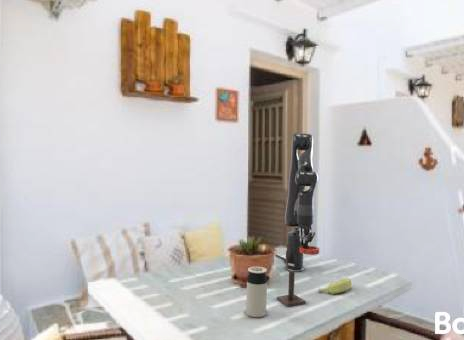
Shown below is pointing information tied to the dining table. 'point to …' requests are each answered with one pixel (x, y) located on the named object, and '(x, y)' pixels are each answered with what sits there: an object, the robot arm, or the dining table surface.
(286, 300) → the peg stand
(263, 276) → the travel mug
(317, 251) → the ring
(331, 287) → the banana
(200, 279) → the dining table surface
